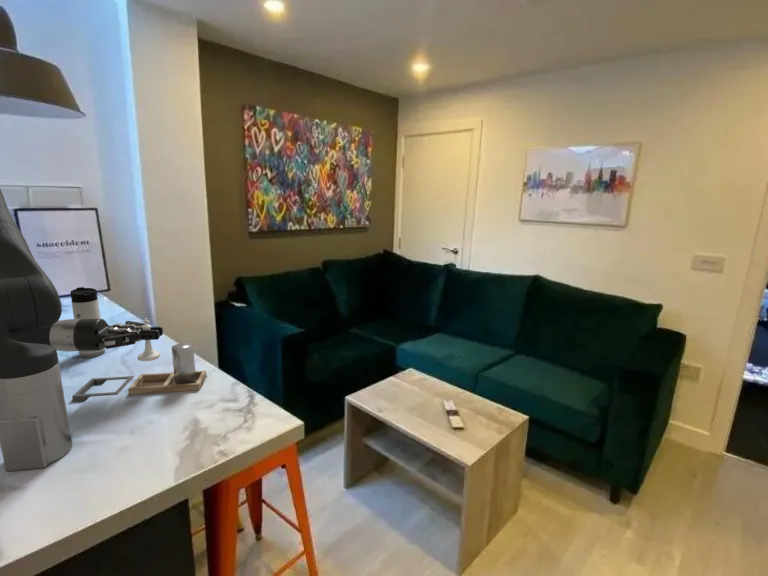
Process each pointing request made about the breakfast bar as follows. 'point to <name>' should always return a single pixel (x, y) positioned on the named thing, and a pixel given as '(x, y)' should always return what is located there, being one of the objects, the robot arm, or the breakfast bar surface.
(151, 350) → the chess piece
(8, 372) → the robot arm
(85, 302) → the travel mug
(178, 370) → the steel peg
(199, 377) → the wooden divided tray
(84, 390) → the frame
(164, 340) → the breakfast bar surface
